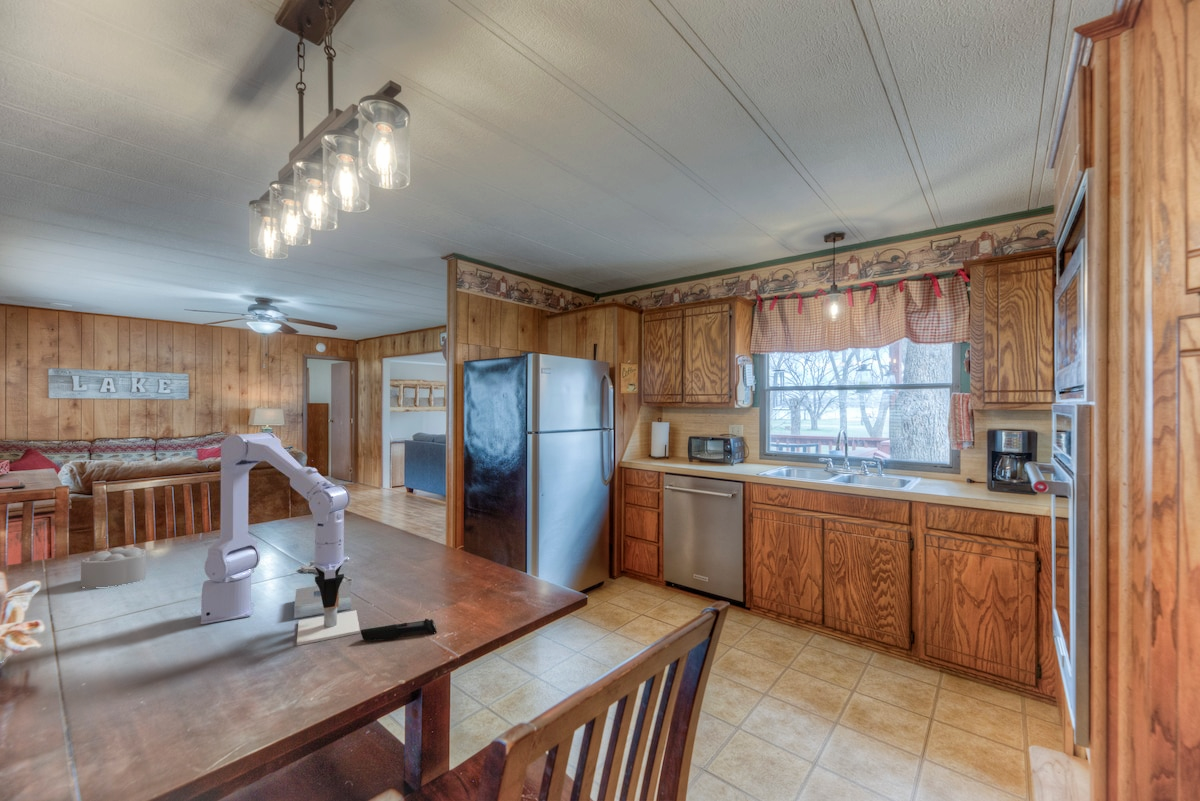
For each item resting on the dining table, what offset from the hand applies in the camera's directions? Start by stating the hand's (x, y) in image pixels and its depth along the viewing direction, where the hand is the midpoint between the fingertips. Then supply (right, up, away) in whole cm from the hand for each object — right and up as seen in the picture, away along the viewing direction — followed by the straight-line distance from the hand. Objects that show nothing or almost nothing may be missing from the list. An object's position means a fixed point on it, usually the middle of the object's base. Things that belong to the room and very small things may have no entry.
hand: (328, 600), depth 113 cm
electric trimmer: (+18, -7, -3) cm, 19 cm away
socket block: (-8, -6, +13) cm, 16 cm away
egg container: (-75, -6, +27) cm, 80 cm away
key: (0, -6, 0) cm, 6 cm away
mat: (0, -6, 0) cm, 6 cm away
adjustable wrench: (-19, -7, +33) cm, 39 cm away
